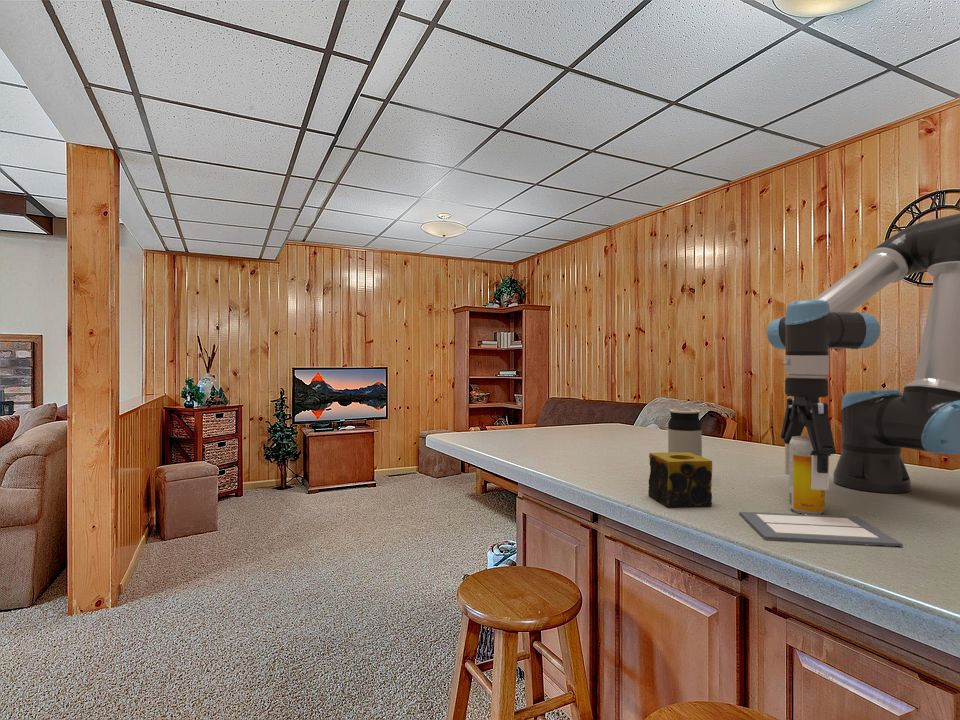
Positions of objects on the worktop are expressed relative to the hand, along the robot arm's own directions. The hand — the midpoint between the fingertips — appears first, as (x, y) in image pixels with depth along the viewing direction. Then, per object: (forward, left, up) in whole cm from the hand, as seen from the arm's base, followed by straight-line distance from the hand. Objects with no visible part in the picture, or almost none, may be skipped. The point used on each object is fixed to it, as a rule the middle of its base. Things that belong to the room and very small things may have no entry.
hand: (805, 481), depth 108 cm
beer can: (0, 0, -6) cm, 6 cm away
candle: (+24, -4, -6) cm, 25 cm away
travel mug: (+19, -25, -6) cm, 32 cm away
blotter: (+3, +12, -6) cm, 14 cm away
